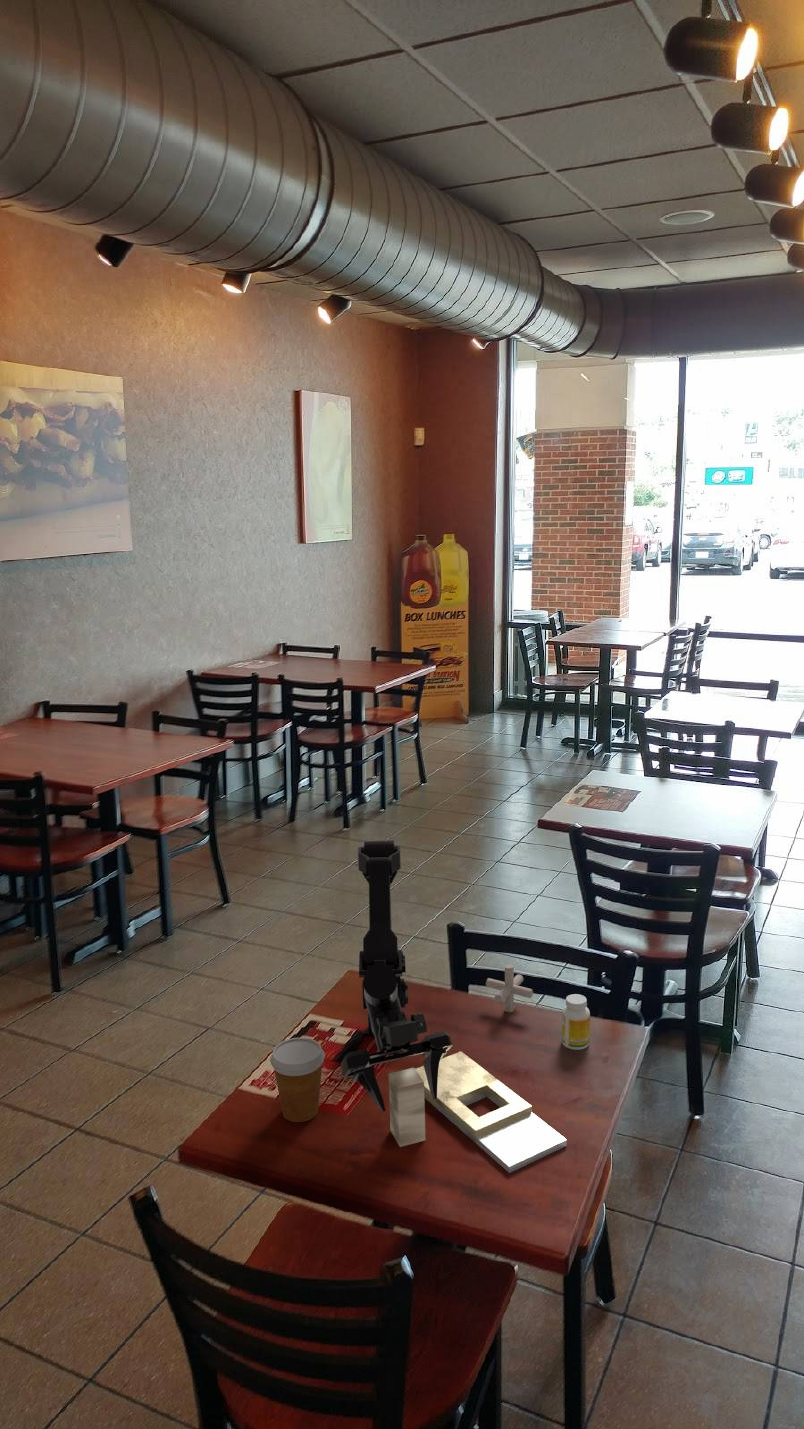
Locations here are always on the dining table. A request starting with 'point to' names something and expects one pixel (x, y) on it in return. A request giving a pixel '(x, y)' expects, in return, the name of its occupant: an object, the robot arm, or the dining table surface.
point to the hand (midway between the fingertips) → (409, 1105)
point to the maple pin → (407, 1106)
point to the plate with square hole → (491, 1114)
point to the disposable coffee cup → (298, 1077)
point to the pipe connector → (509, 988)
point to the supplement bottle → (575, 1022)
